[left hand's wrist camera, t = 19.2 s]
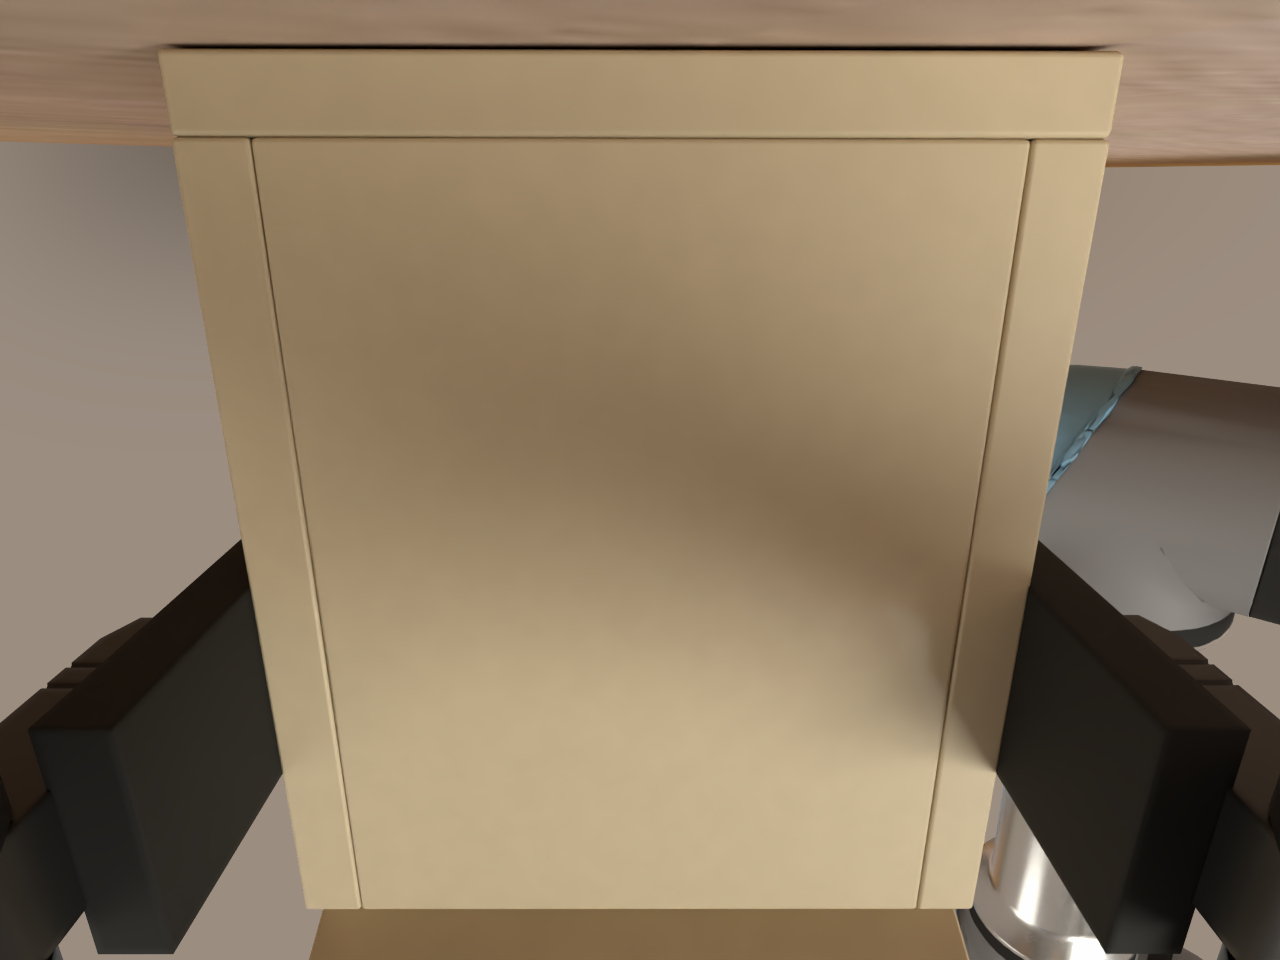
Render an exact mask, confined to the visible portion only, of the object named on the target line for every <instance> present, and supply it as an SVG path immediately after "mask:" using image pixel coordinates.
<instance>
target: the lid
mask: <svg viewBox="0 0 1280 960" xmlns="http://www.w3.org/2000/svg"><path fill="white" fill-rule="evenodd" d="M309 960H969V957H968V954H967V950H966V947H965V943H964V940H963V936H962V932H961V929H960V925H959V922H958V918H957V915H956V911H955V909H920V908H918V907H917V904H916V907H915V908H913V909H365V908H363V907H362V906H361V907H360V908H359V909H323V912H322V915H321V919H320V922H319V926H318V929H317V933H316V937H315V940H314V944H313V947H312V951H311V954H310V958H309Z"/></svg>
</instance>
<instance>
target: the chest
mask: <svg viewBox="0 0 1280 960" xmlns="http://www.w3.org/2000/svg"><path fill="white" fill-rule="evenodd" d="M1123 60H1124V57H1123V54H1122V53H1120V52H1118V51H876V50H506V49H163V50H160V51H158V61H159V67H160V72H161V78H162V84H163V89H164V95H165V101H166V107H167V112H168V118H169V124H170V129H171V131H172V133H173V134H174V135H176V136H178V137H177V138H175V139H173V142H172V145H173V150H174V156H175V162H176V167H177V173H178V179H179V185H180V190H181V196H182V202H183V207H184V213H185V219H186V225H187V230H188V235H189V242H190V247H191V253H192V259H193V264H194V270H195V276H196V282H197V287H198V293H199V299H200V305H201V310H202V316H203V322H204V327H205V333H206V339H207V345H208V350H209V356H210V362H211V367H212V373H213V379H214V384H215V390H216V396H217V402H218V407H219V413H220V419H221V424H222V430H223V436H224V442H225V447H226V453H227V459H228V464H229V470H230V476H231V482H232V487H233V493H234V499H235V505H236V510H237V516H238V522H239V527H240V533H241V539H242V545H243V550H244V556H245V562H246V567H247V573H248V579H249V585H250V590H251V596H252V602H253V607H254V613H255V619H256V625H257V630H258V636H259V642H260V647H261V653H262V659H263V665H264V670H265V676H266V682H267V687H268V693H269V699H270V705H271V710H272V716H273V722H274V727H275V733H276V739H277V745H278V750H279V756H280V762H281V767H282V773H283V779H284V785H285V790H286V796H287V802H288V807H289V813H290V819H291V825H292V830H293V836H294V842H295V847H296V853H297V859H298V865H299V870H300V876H301V882H302V887H303V893H304V899H305V905H306V908H308V909H359V908H360V907H361V906H362V907H363V908H365V909H913V908H915V907H916V904H917V907H918V908H920V909H970V908H972V906H973V900H974V895H975V889H976V884H977V878H978V872H979V867H980V861H981V856H982V850H983V844H984V839H985V833H986V828H987V822H988V817H989V811H990V805H991V800H992V794H993V789H994V783H995V777H996V769H997V764H998V758H999V752H1000V747H1001V741H1002V735H1003V730H1004V724H1005V718H1006V713H1007V707H1008V702H1009V696H1010V690H1011V685H1012V679H1013V673H1014V668H1015V662H1016V656H1017V651H1018V645H1019V639H1020V634H1021V628H1022V623H1023V617H1024V611H1025V606H1026V600H1027V594H1028V589H1029V587H1030V582H1031V577H1032V571H1033V566H1034V560H1035V555H1036V549H1037V543H1038V538H1039V532H1040V527H1041V521H1042V515H1043V510H1044V504H1045V499H1046V493H1047V488H1048V482H1049V476H1050V471H1051V465H1052V460H1053V454H1054V449H1055V443H1056V437H1057V432H1058V426H1059V421H1060V415H1061V410H1062V404H1063V398H1064V393H1065V387H1066V382H1067V376H1068V371H1069V365H1070V359H1071V354H1072V348H1073V342H1074V337H1075V331H1076V326H1077V320H1078V315H1079V309H1080V304H1081V298H1082V292H1083V287H1084V281H1085V276H1086V270H1087V265H1088V259H1089V253H1090V248H1091V242H1092V237H1093V231H1094V226H1095V220H1096V214H1097V209H1098V203H1099V197H1100V192H1101V187H1102V181H1103V175H1104V170H1105V164H1106V159H1107V153H1108V147H1109V143H1108V141H1106V140H1104V139H1103V138H1106V137H1108V136H1109V134H1110V132H1111V127H1112V122H1113V116H1114V110H1115V105H1116V99H1117V94H1118V88H1119V83H1120V77H1121V71H1122V66H1123Z"/></svg>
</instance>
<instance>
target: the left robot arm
mask: <svg viewBox="0 0 1280 960" xmlns="http://www.w3.org/2000/svg"><path fill="white" fill-rule="evenodd" d="M47 685H48V686H47V688H46V689H40V690H39V691H38V692H36V693H35V694H34V695H33V696H32V697H31V698H29V699H28V700H27V701H26V702H25V703H23V704H22V705H21V706H20V707H19V708H17V709H16V710H15V711H14V712H13V713H11V714H10V715H9V716H8V717H7V718H6V719H4V720H3V721H2V722H1V723H0V960H63V958H62V956H61V952H60V950H59V947H58V944H59V943H60V942H61V941H62V939H63V938H64V937H65V935H66V934H67V933H68V931H69V930H70V929H71V928H72V926H73V925H74V923H75V922H76V921H77V920H78V918H79V917H80V916H81V914H82V913H83V912H84V911H85V914H86V917H87V920H88V923H89V927H90V930H91V933H92V936H93V939H94V943H95V945H96V949H97V952H98V954H173V953H174V952H175V950H176V949H177V947H178V945H179V944H180V942H181V940H182V939H183V937H184V935H185V934H186V932H187V930H188V929H189V927H190V925H191V924H192V922H193V920H194V919H195V917H196V915H197V914H198V912H199V910H200V909H201V907H202V906H203V904H204V902H205V901H206V899H207V897H208V896H209V894H210V892H211V891H212V889H213V887H214V886H215V884H216V882H217V881H218V879H219V878H220V876H221V874H222V872H223V871H224V869H225V867H226V866H227V864H228V863H229V861H230V859H231V858H232V856H233V854H234V853H235V851H236V849H237V848H238V846H239V845H240V843H241V841H242V840H243V838H244V836H245V835H246V833H247V831H248V830H249V828H250V826H251V825H252V823H253V821H254V820H255V818H256V816H257V815H258V813H259V811H260V810H261V808H262V807H263V805H264V803H265V802H266V800H267V798H268V797H269V795H270V793H271V792H272V790H273V788H274V787H275V785H276V783H277V782H278V780H279V778H280V777H281V775H282V774H283V773H282V767H281V762H280V756H279V750H278V745H277V739H276V733H275V727H274V722H273V716H272V710H271V705H270V699H269V693H268V687H267V682H266V676H265V670H264V665H263V659H262V653H261V647H260V642H259V636H258V630H257V625H256V619H255V613H254V607H253V602H252V596H251V590H250V585H249V579H248V573H247V567H246V562H245V556H244V550H243V545H242V539H241V540H240V541H239V542H238V543H236V544H235V545H234V546H233V547H232V548H231V549H230V550H229V551H227V552H226V553H225V554H224V555H223V556H222V557H221V558H220V559H218V560H217V561H216V562H215V563H214V564H213V565H212V566H211V567H209V568H208V569H207V570H206V571H205V572H204V573H203V574H202V575H200V576H199V577H198V578H197V579H196V580H195V581H194V582H193V583H191V584H190V585H189V586H188V587H187V588H186V589H185V590H184V591H182V592H181V593H180V594H179V595H178V596H177V597H176V598H175V599H173V600H172V601H171V602H170V603H169V604H168V605H167V606H166V607H164V608H163V609H162V610H161V611H160V612H159V613H158V614H157V615H155V616H154V617H153V618H139V619H137V620H136V621H134V622H132V623H130V624H128V625H126V626H124V627H122V628H120V629H118V630H116V631H114V632H112V633H110V634H108V635H106V636H104V637H103V638H101V639H99V640H98V641H97V642H96V643H95V644H93V645H92V646H91V647H90V648H89V649H87V650H86V651H85V652H84V653H83V654H82V655H80V656H79V657H78V658H77V659H76V660H74V661H73V662H72V666H71V668H65V669H64V670H63V671H61V672H60V673H59V674H58V675H57V676H55V677H54V678H53V679H52V680H51V681H49V682H48V683H47ZM996 773H997V775H998V777H999V778H1000V780H1001V782H1002V783H1003V785H1004V787H1005V788H1006V790H1007V792H1008V793H1009V795H1010V797H1011V798H1012V800H1013V802H1014V803H1015V805H1016V806H1017V808H1018V810H1019V811H1020V813H1021V815H1022V816H1023V818H1024V820H1025V821H1026V823H1027V825H1028V826H1029V828H1030V830H1031V831H1032V833H1033V835H1034V836H1035V838H1036V839H1037V841H1038V843H1039V844H1040V846H1041V848H1042V849H1043V851H1044V853H1045V854H1046V856H1047V858H1048V859H1049V861H1050V863H1051V864H1052V866H1053V868H1054V869H1055V871H1056V873H1057V874H1058V876H1059V877H1060V879H1061V881H1062V882H1063V884H1064V886H1065V887H1066V889H1067V891H1068V892H1069V894H1070V896H1071V897H1072V899H1073V901H1074V902H1075V904H1076V906H1077V907H1078V909H1079V911H1080V912H1081V914H1082V915H1083V917H1084V919H1085V920H1086V922H1087V924H1088V925H1089V927H1090V929H1091V930H1092V932H1093V934H1094V935H1095V937H1096V939H1097V940H1098V942H1099V944H1100V945H1101V947H1102V948H1103V950H1104V952H1105V953H1106V954H1181V952H1182V948H1183V945H1184V942H1185V939H1186V936H1187V932H1188V929H1189V926H1190V923H1191V920H1192V917H1193V913H1194V910H1195V907H1196V909H1197V910H1198V911H1199V913H1200V914H1201V915H1202V916H1203V918H1204V919H1205V920H1206V922H1207V923H1208V924H1209V926H1210V927H1211V928H1212V929H1213V931H1214V932H1215V933H1216V935H1217V936H1218V937H1219V939H1220V940H1221V941H1222V943H1223V944H1222V947H1221V950H1220V953H1219V955H1218V958H1217V960H1280V719H1278V718H1277V717H1276V716H1275V715H1274V714H1272V713H1271V712H1270V711H1269V710H1268V709H1266V708H1265V707H1264V706H1263V705H1262V704H1260V703H1259V702H1258V701H1257V700H1256V699H1254V698H1253V697H1252V696H1251V695H1250V694H1248V693H1247V692H1246V691H1245V690H1244V689H1242V688H1241V687H1240V686H1239V685H1233V683H1232V679H1230V678H1229V677H1228V676H1227V675H1226V674H1224V673H1223V672H1222V671H1221V670H1220V669H1219V668H1217V667H1216V666H1215V665H1209V664H1208V659H1206V658H1205V657H1204V656H1203V655H1202V654H1201V653H1199V652H1198V651H1197V650H1196V649H1195V648H1193V647H1192V646H1191V645H1190V644H1189V643H1187V642H1186V641H1185V640H1184V639H1183V638H1181V637H1180V636H1179V635H1177V634H1175V633H1173V632H1171V631H1169V630H1167V629H1165V628H1163V627H1161V626H1159V625H1157V624H1156V623H1154V622H1152V621H1150V620H1148V619H1146V618H1144V617H1142V616H1140V615H1122V614H1121V613H1120V612H1119V611H1118V610H1117V609H1116V608H1114V607H1113V606H1112V605H1111V604H1110V603H1109V602H1108V601H1107V600H1106V599H1104V598H1103V597H1102V596H1101V595H1100V594H1099V593H1098V592H1097V591H1095V590H1094V589H1093V588H1092V587H1091V586H1090V585H1089V584H1088V583H1086V582H1085V581H1084V580H1083V579H1082V578H1081V577H1080V576H1079V575H1077V574H1076V573H1075V572H1074V571H1073V570H1072V569H1071V568H1070V567H1068V566H1067V565H1066V564H1065V563H1064V562H1063V561H1062V560H1061V559H1059V558H1058V557H1057V556H1056V555H1055V554H1054V553H1053V552H1052V551H1050V550H1049V549H1048V548H1047V547H1046V546H1045V545H1044V544H1043V543H1041V542H1040V541H1039V540H1038V543H1037V549H1036V555H1035V560H1034V566H1033V571H1032V577H1031V582H1030V587H1029V589H1028V594H1027V600H1026V606H1025V611H1024V617H1023V623H1022V628H1021V634H1020V639H1019V645H1018V651H1017V656H1016V662H1015V668H1014V673H1013V679H1012V685H1011V690H1010V696H1009V702H1008V707H1007V713H1006V718H1005V724H1004V730H1003V735H1002V741H1001V747H1000V752H999V758H998V764H997V769H996Z"/></svg>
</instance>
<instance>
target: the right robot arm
mask: <svg viewBox="0 0 1280 960" xmlns="http://www.w3.org/2000/svg"><path fill="white" fill-rule="evenodd" d="M1141 369H1142V367H1138V366H1132V367H1130V368H1128V369H1126V368H1112V367H1099V366H1085V365H1069V371H1068V376H1067V382H1066V387H1065V393H1064V398H1063V404H1062V410H1061V415H1060V421H1059V426H1058V432H1057V437H1056V443H1055V449H1054V454H1053V460H1052V465H1051V471H1050V476H1049V482H1048V488H1047V493H1046V499H1045V504H1044V510H1043V515H1042V521H1041V527H1040V532H1039V538H1038V540H1039V541H1040V542H1041V543H1043V544H1044V545H1045V546H1046V547H1047V548H1048V549H1049V550H1050V551H1052V552H1053V553H1054V554H1055V555H1056V556H1057V557H1058V558H1059V559H1061V560H1062V561H1063V562H1064V563H1065V564H1066V565H1067V566H1068V567H1070V568H1071V569H1072V570H1073V571H1074V572H1075V573H1076V574H1077V575H1079V576H1080V577H1081V578H1082V579H1083V580H1084V581H1085V582H1086V583H1088V584H1089V585H1090V586H1091V587H1092V588H1093V589H1094V590H1095V591H1097V592H1098V593H1099V594H1100V595H1101V596H1102V597H1103V598H1104V599H1106V600H1107V601H1108V602H1109V603H1110V604H1111V605H1112V606H1113V607H1114V608H1116V609H1117V610H1118V611H1119V612H1120V613H1121V614H1122V615H1140V616H1142V617H1144V618H1146V619H1148V620H1150V621H1152V622H1154V623H1156V624H1157V625H1159V626H1161V627H1163V628H1165V629H1167V630H1169V631H1171V632H1173V633H1175V634H1177V635H1179V636H1180V637H1181V638H1183V639H1184V640H1185V641H1186V642H1187V643H1189V644H1190V645H1191V646H1192V647H1193V648H1195V649H1196V650H1197V651H1199V650H1202V649H1205V648H1207V647H1209V646H1212V645H1213V644H1215V643H1216V642H1218V641H1220V640H1221V639H1222V638H1223V637H1224V636H1225V635H1226V634H1227V632H1228V631H1229V629H1230V627H1231V625H1232V622H1233V618H1234V614H1235V613H1237V614H1241V615H1244V616H1248V615H1249V617H1253V618H1257V619H1261V620H1264V621H1268V622H1272V623H1275V624H1279V625H1280V387H1272V386H1265V385H1257V384H1249V383H1240V382H1233V381H1225V380H1217V379H1209V378H1201V377H1193V376H1185V375H1177V374H1170V373H1161V372H1154V371H1145V370H1141ZM1257 585H1258V586H1257ZM1252 602H1253V603H1252ZM1251 605H1252V606H1251ZM955 911H956V915H957V918H958V922H959V925H960V929H961V932H962V936H963V940H964V943H965V947H966V950H967V954H968V957H969V960H1202V959H1201V958H1200V957H1198V956H1197V955H1195V954H1193V953H1191V952H1190V951H1188V950H1186V949H1184V948H1182V952H1181V954H1106V953H1105V952H1104V950H1103V948H1102V947H1101V945H1100V944H1099V942H1098V940H1097V939H1096V937H1095V935H1094V934H1093V932H1092V930H1091V929H1090V927H1089V925H1088V924H1087V922H1086V920H1085V919H1084V917H1083V915H1082V914H1081V912H1080V911H1079V909H1078V907H1077V906H1076V904H1075V902H1074V901H1073V899H1072V897H1071V896H1070V894H1069V892H1068V891H1067V889H1066V887H1065V886H1064V884H1063V882H1062V881H1061V879H1060V877H1059V876H1058V874H1057V873H1056V871H1055V869H1054V868H1053V866H1052V864H1051V863H1050V861H1049V859H1048V858H1047V856H1046V854H1045V853H1044V851H1043V849H1042V848H1041V846H1040V844H1039V843H1038V841H1037V839H1036V838H1035V836H1034V835H1033V833H1032V831H1031V830H1030V828H1029V826H1028V825H1027V823H1026V821H1025V820H1024V818H1023V816H1022V815H1021V813H1020V811H1019V810H1018V808H1017V806H1016V805H1015V803H1014V802H1013V800H1012V798H1011V797H1010V795H1009V793H1008V792H1007V790H1006V788H1005V787H1004V785H1003V791H1002V798H1001V805H1000V811H999V818H998V825H997V832H996V837H995V838H993V839H991V840H989V841H987V842H986V843H985V844H984V845H983V850H982V856H981V861H980V867H979V872H978V878H977V884H976V889H975V895H974V900H973V906H972V908H970V909H955Z"/></svg>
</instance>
